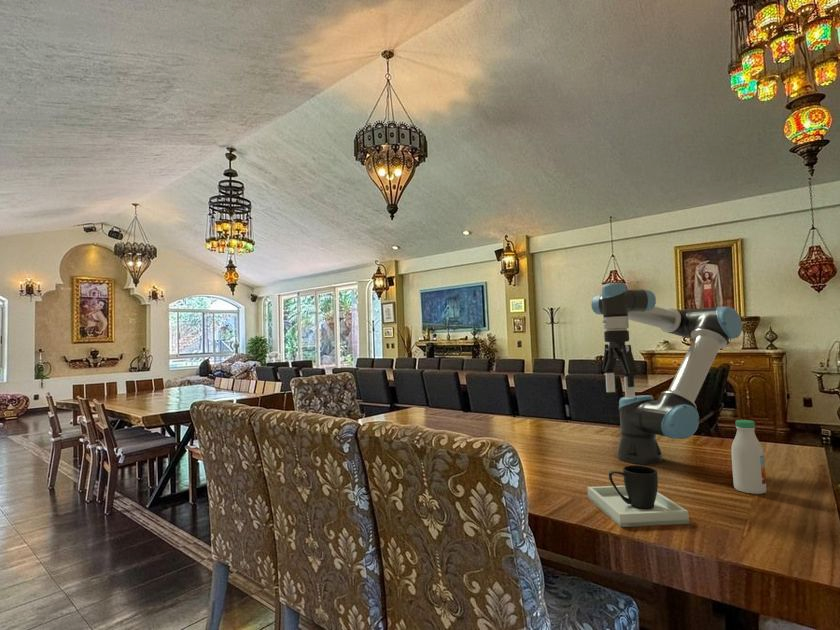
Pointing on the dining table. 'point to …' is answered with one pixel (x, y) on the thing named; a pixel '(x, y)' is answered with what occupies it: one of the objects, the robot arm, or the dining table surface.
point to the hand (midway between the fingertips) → (620, 394)
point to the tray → (631, 516)
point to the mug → (638, 486)
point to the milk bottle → (748, 460)
